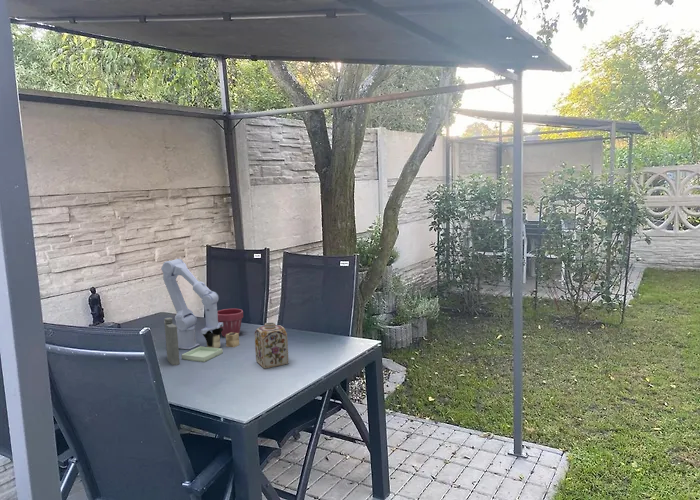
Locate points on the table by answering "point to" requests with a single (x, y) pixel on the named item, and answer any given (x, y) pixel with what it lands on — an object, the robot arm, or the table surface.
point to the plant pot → (230, 320)
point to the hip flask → (171, 341)
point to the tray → (202, 354)
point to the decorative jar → (271, 345)
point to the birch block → (215, 341)
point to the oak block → (232, 339)
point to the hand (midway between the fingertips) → (213, 344)
